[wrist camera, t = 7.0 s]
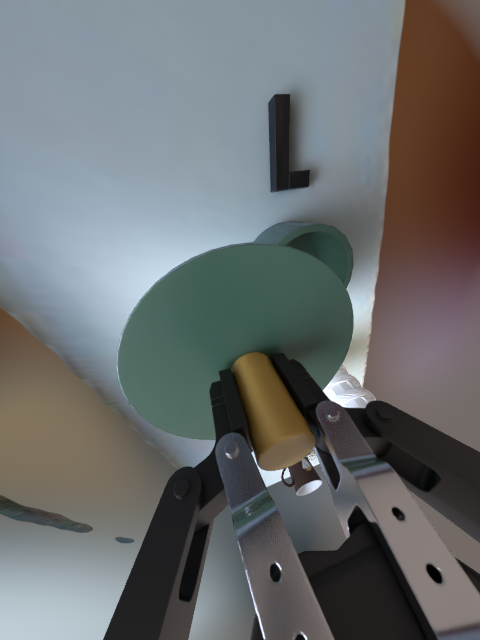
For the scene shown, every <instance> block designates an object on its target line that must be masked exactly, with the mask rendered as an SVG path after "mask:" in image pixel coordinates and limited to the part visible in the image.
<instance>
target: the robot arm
mask: <svg viewBox="0 0 480 640" xmlns="http://www.w3.org/2000/svg"><path fill="white" fill-rule="evenodd" d="M271 362H272V364H273V366H274V367H275V369H276V371H277V372H278V374H279V376H280V378H281V379H282V381H283V383H284V384H285V386H286V388H287V389H288V391H289V393H290V394H291V396H292V398H293V399H294V401H295V403H296V405H297V406H298V408H299V410H300V411H301V413H302V415H303V416H304V418H305V420H306V421H307V423H308V425H309V426H310V428H311V430H312V432H313V433H314V435H315V437H316V445H315V447H314V451H315V453H316V456H317V458H318V461H319V463H320V465H321V468H322V470H323V473H324V475H325V477H326V480H327V482H328V485H329V487H330V490H331V493H332V496H333V502H334V506H335V509H336V512H337V515H338V518H339V520H340V523H341V525H342V528H343V530H344V533H345V535H346V538H347V540H346V541H345V542H344V543H343V545H342V546H341V547H340V548H339V549H338V550H335V551H304V552H302V553H300V554H298V555H297V553H296V550H295V548H294V546H293V543H292V541H291V539H290V537H289V534H288V532H287V530H286V528H285V525H284V523H283V521H282V518H281V516H280V514H279V511H278V509H277V507H276V505H275V503H274V501H273V499H272V498H271V497H270V495H269V493H268V491H267V488H266V486H265V484H264V481H263V479H262V477H261V475H260V472H259V470H258V468H257V465H256V463H255V461H254V458H253V456H252V454H251V452H253V449H252V444H251V440H250V433H249V428H248V423H247V420H246V417H245V414H244V410H243V407H242V404H241V401H240V397H239V394H238V391H237V388H236V384H235V381H234V378H233V375H232V371H231V368H228V369H224V370H221V371H219V376H220V380H219V381H216V382H213V383H212V384H211V387H210V390H209V393H210V400H211V406H212V413H213V420H214V427H215V433H216V442H215V446H214V448H213V450H212V452H211V453H210V455H209V456H208V457H207V458H206V459H205V460H203V461H202V462H201V463H199V464H198V465H197V466H196V467H194V468H193V467H183V468H181V469H179V470H177V471H176V472H175V473H174V474H173V475H172V476H171V477H170V479H169V480H168V482H167V485H166V487H165V489H164V492H163V494H162V497H161V499H160V502H159V504H158V506H157V509H156V512H155V514H154V516H153V519H152V521H151V524H150V526H149V529H148V531H147V533H146V536H145V538H144V541H143V543H142V546H141V548H140V551H139V553H138V555H137V558H136V560H135V563H134V565H133V568H132V570H131V573H130V575H129V578H128V580H127V582H126V585H125V588H124V590H123V592H122V595H121V597H120V600H119V602H118V605H117V607H116V609H115V612H114V615H113V617H112V619H111V622H110V624H109V627H108V629H107V632H106V634H105V637H104V639H103V640H188V638H189V633H190V628H191V624H192V619H193V615H194V609H195V605H196V601H197V596H198V591H199V587H200V582H201V577H202V573H203V568H204V563H205V558H206V554H207V549H208V545H209V540H210V535H211V530H212V526H213V521H214V518H215V517H216V516H217V515H218V514H219V513H220V512H222V511H223V510H224V509H225V508H226V506H228V505H229V507H230V511H231V515H232V519H233V525H234V529H235V533H236V537H237V541H238V545H239V549H240V552H241V556H242V560H243V563H244V567H245V571H246V575H247V578H248V581H249V586H250V589H251V593H252V597H253V601H254V604H255V608H256V614H255V618H254V623H253V628H252V634H251V640H480V574H479V573H477V572H476V571H474V570H473V569H472V568H470V567H469V566H467V565H466V564H464V563H463V562H461V561H460V560H458V559H457V558H456V557H454V556H453V554H452V553H451V551H450V550H449V548H448V547H447V546H446V544H445V543H444V541H443V540H442V538H441V537H440V535H439V534H438V532H437V531H436V529H435V528H434V527H433V525H432V524H431V522H430V521H429V519H428V518H427V517H426V515H425V514H424V512H423V511H422V509H421V508H420V507H419V505H418V504H417V502H416V501H415V499H414V498H413V496H412V495H411V493H410V492H409V490H410V491H411V492H413V493H414V494H415V495H417V496H418V497H419V498H421V499H422V500H423V501H425V502H426V503H427V504H429V505H430V506H431V507H433V508H434V509H435V510H437V511H438V512H439V513H441V514H442V515H443V516H445V517H446V518H447V519H449V520H450V521H451V522H453V523H454V524H455V525H457V526H458V527H459V528H461V529H462V530H463V531H465V532H466V533H467V534H469V535H470V536H471V537H473V538H474V539H475V540H477V541H478V542H479V543H480V452H478V451H476V450H475V449H473V448H471V447H469V446H467V445H465V444H463V443H461V442H460V441H457V440H456V439H454V438H452V437H450V436H448V435H446V434H444V433H443V432H441V431H439V430H437V429H435V428H433V427H431V426H429V425H428V424H426V423H424V422H422V421H420V420H418V419H416V418H414V417H412V416H410V415H409V414H407V413H405V412H403V411H401V410H399V409H397V408H396V407H394V406H392V405H390V404H388V403H385V402H382V401H371V402H369V403H368V404H367V405H366V407H365V408H347V407H342V406H341V405H340V404H338V403H336V402H333V401H331V400H330V399H329V398H328V397H327V395H326V394H325V393H324V392H323V390H322V389H321V388H320V387H319V385H318V384H317V383H316V381H315V380H314V379H313V378H312V377H311V375H310V374H309V373H308V371H307V370H306V369H305V368H304V366H303V365H302V364H301V363H300V362H298V361H297V360H295V359H291V360H288V358H287V357H286V355H285V354H284V353H280V354H277V355H273V356H271ZM408 489H409V490H408Z"/></svg>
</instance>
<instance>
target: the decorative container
mask: <svg viewBox="0 0 480 640" xmlns="http://www.w3.org/2000/svg"><path fill="white" fill-rule="evenodd" d="M323 392H324V393H325V394H326V395H327V397H328V398H329V399H330V400H331V401H333V402H336V403H338V404H340V405H341V406H342V407H347V408H365V407H366V405H367V404H368V403H369V402H371V401H376V399H375V397H374V395H373V394H372V393H371V392H369V391H368V390H366V389H364V388H362V387H361V385H360V383H359V381H358V380H357V379H356V378H355V377H353V376H352V375H350V374H348V373H347V371H346V369H345V367H343V366H342V365H341V366H340V368H339V370H338V372H337V373H336V374H335V376H334V377H333V379H332V380H331V381H330V383H329V384H328V385H327V386H326V388H325V389H324V390H323Z"/></svg>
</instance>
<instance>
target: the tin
mask: <svg viewBox="0 0 480 640" xmlns="http://www.w3.org/2000/svg"><path fill="white" fill-rule="evenodd" d="M254 242H256V243H274V244H279V245H284V246H289V247H292V248H295V249H298V250H301V251H303V252H306V253H309V254H311V255H312V256H314V257H316V258H317V259H319V260H321V261H323V262H324V263H325V264H326V265H327V266H328V267H330V268H331V269H332V270H333V271H334V272H335V273H336V275H337V276H338V277H339V278H340V280H341V281H342V282H343V284H344V286H345V288H347V286H348V284H349V282H350V279H351V274H352V269H353V255H352V248H351V246H350V244H349V242H348V240H347V238H346V237H345V235H343V234H342V233H341V232H340V231H339V230H337V229H336V228H335V227H332V226H328V225H324V224H318V223H302V222H285V223H280V224H276V225H274V226H272V227H270V228H268V229H267V230H265V231H264V232H263V233H261V234H260V235H259V236H258V237H257V239H256V240H255V241H254Z"/></svg>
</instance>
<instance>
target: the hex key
mask: <svg viewBox="0 0 480 640" xmlns="http://www.w3.org/2000/svg"><path fill="white" fill-rule="evenodd" d="M289 124H290V94H275V95H274V96H273V98H272V99H271V100H270V102H269V142H270V182H271V192H277V191H285V190H293V189H301V188H306V187H309V174H310V170H304V171H294V172H289Z"/></svg>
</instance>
